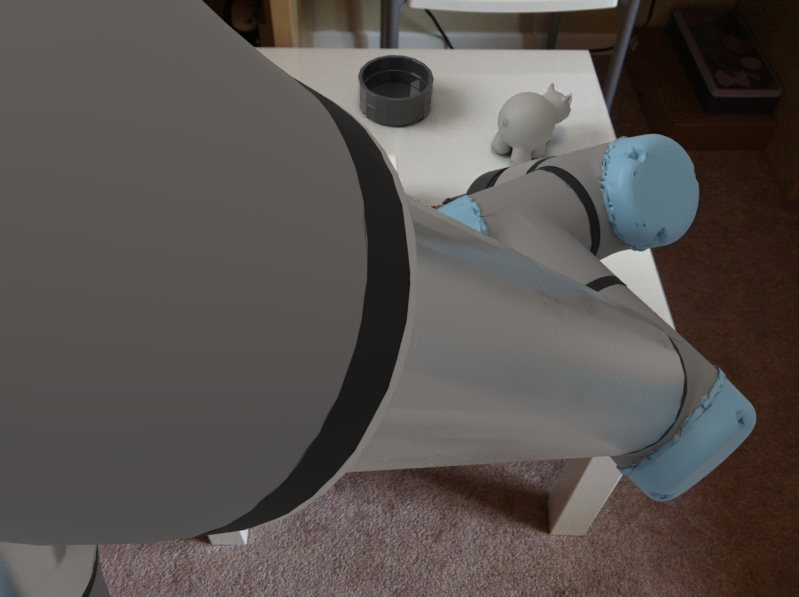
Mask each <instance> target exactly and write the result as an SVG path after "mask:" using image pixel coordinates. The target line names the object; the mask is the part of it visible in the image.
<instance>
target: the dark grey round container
mask: <svg viewBox="0 0 799 597" xmlns="http://www.w3.org/2000/svg"><path fill="white" fill-rule="evenodd" d="M434 82H435V78H434V75H433V71H432V69H431V68H429V67H428V66H427V65H426V64H425V63H424V62H423V61H421V60H419V59H417V58H415V57H411V56H407V55H402V54H388V55H381V56H377V57H374V58H372V59H371V60H369V61H367V62H366V63H365V64H364V65H362V67H360V69H359V72H358V74H357V95H358V96H357V100H358V106H359V108H360V110H361V112H362V113H363V114H364V115H365V117H366V118H368V119H369V120H371V121H372V122H374V123H377V124H378V125H383V126H385V127H395V128H396V127H397V128H398V127H405V126H411V125H413V124H416V123H418V122H420V121H421V120H423V119H424V118H425V117H426V116H427V114H428V113H429V112H430V111H431V107H432V102H433V93H434Z"/></svg>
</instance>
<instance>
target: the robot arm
mask: <svg viewBox="0 0 799 597" xmlns="http://www.w3.org/2000/svg"><path fill="white" fill-rule="evenodd" d="M388 155H389V154H387V152H386V149H385V148H384V147H383V146H382V145H381V143H380V142H379V141H378V139H377V138H376V137H375V136H374V135H373V134H372V132H371V131H370V130H369V128H368V127H367V126H365V124H363V123H362V122H361V121H360V120H359V119H357V118H356V117H355V116H354V115H353V114H352V113H351V112H349V111H348V110H347V109H345V108H344V107H342V106H341V105H339V104H338V103H336V102H335V101H333V100H332V99H330V98H329V97H326V96H325V95H323V94H322V93H320V92H319V91H317V90H315V89H313V88H312V87H311V86H309V85H307V84H305V83H303V82H302V81H300V80H298V79H297V78H296V77H293V76H292V75H290V74H289V73H288V72H286V71H285V70H284V69H282V68H281V67H280V66H279V65H277V64H276V63H274V62H273V61H272V60H270V59H269V58H268V57H266V56H265V55H264V54H263V53H262V52H260V51H259V50H258V49H257V48H256V47H255V46H253V44H251V43H250V42H248V41H247V40H246V39H245V38H244V37H243V36H242V35H240V34H239V33H238V32H237V31H236V30H235V29H233V28H232V27H231V26H230V25H229V24H228V23H226V21H224V20H223V18H222V17H221V16H219V15H218V14H217V13H216V12H215V11H214V10H212V8H211V7H210V6H208V4H207V3H205V2H204V0H0V597H112V596H111V593H110V591H109V588H108V586H107V583H106V579H105V576H104V573H103V570H102V564H101V558H100V552H99V546H100V545H106V546H107V545H135V544H136V545H137V544H153V543H161V542H168V541H176V540H177V541H178V540H183V539H192V538H200V537H207V536H213V535H214V536H215V535H221V534H228V533H235V532H242V531H246V530H250V529H256V528H259V527H263V526H265V525H266V526H267V525H269V524H272V523H276V522H279V521H283V520H284V519H286V518H288V517H290V516H292V515H294V514H296V513H297V512H300V511H301V510H303V509H305V508H307V507H308V506H310V505H311V504H312V503H314V502H315V501H316V500H318V499H319V498H320V497H322V496H324V494H326V493H327V492H328V491H329V490H330V489H331V488H332V487H333V486H335V484H337V482H339V480H340V479H341V478H342V477H343V476H344V475H345V474H346V473H359V472H360V473H361V472H375V471H390V470H391V471H392V470H394V471H395V470H406V469H407V470H408V469H425V468H440V467H455V466H473V465H490V464H503V463H519V462H535V461H537V462H538V461H552V460H553V461H554V460H555V461H556V460H569V459H582V458H585V459H586V458H600V457H601V458H602V457H610V459H611V460H612V461H613V462H614V464H615V465H616V466H615V468H616V470H618V471H619V473H620V475H623V476H626V477H627V478H628V479H629V480H630V481H631V482H632V483H633V484H634V485H635V486H636V487H637V488H638V489H640V491H642V492H643V494H645V495H646V496H647V497H648V498H650V499H652V500H653V501H657V502H668V501H671V500H674V499H676V498H677V497H680V496H681V495H682V494H684V493H685V492H687V491H688V490H690V489H691V488H692V487H694V486H695V485H696V484H698V483H699V482H700V481H702V479H704V478H705V477H707V476H708V475H709V474H710V473H712V472H713V470H715V469H716V468H717V467H718V466H720V465H721V464H722V463H723V462H724V461H725V460H727V458H728V457H730V455H732V454H733V452H735V450H736V449H738V448H739V447H740V446H741V445H742V444H743V443H744V441H745V440H746V439H747V438H748V437H749V436H750V434H751V433H752V432H753V430H754V429H755V426H756V423H757V413H756V409H755V408H754V406H753V404H752V403H751V401H749V400H748V399H747V397H746V396H744V394H742V393H741V391H740V390H739V389H738V388H737V387H736V386H735V385H734V384H733V383H732V382H731V381H730V380H729V379H728V378H727V376H726V373H724V371H723V370H722V369H721V368H720V367H719V366H718V365H716V364H714V365H713V364H712V363H711V362H710V361H709V360H708V359H707V358H706V357H704V356H703V355H702V354H701V353H700V352H699V350H697V349H696V348H695V347H694V346H693V345H691V344H690V342H688V340H686V339H685V338H684V337H683V336H682V335H681V334H680V333H678V331H676V330H675V328H673V327H672V326H671V325H670V324H669V323H668V322H667V321H666V320H664V319H663V318H662V317H661V316H660V315H659V314H658V313H656V312H655V311H654V310H653V308H651V307H650V306H649V305H648V304H646V303H645V302H644V301H643V300H642V299H641V298H640V297H639V296H638V295H637V294H635V292H633V291H632V290H631V289H630V288H629V287H628V285H627V284H626V283H624V282H623V281H622V280H621V279H620V278H619V277H618V276H617V275H616V274H615V273H614V272H613V271H612V270H610V268H608V267H607V266H606V265H605V264H604V263H603V262H602V260H604V259H605V258H608V257H610V256H612V255H614V254H617V253H620V252H623V251H628V250H629V251H630V250H631V251H633V252H635V251H636V252H644V251H647V250H648V249H652V248H659V247H664V246H668V245H669V246H670V245H671V244H672V243H675V242H677V241H678V240H679V239H681V238H682V237H683V236H684V235H685V234H686V232H687V231H688V230H689V228H690V227H691V225H692V224H693V222H694V220H695V217H696V214H697V211H698V207H699V200H700V185H699V181H698V180H697V178H696V173H695V165H694V162H693V161H692V159H691V157H690V155H689V154H688V153H687V151H686V150H685V149H684V147H683V146H681V145H680V144H679V143H678V142H677V141H675V140H674V139H672V138H671V137H668V136H665V135H663V134H658V133H650V134H649V133H648V134H641V135H635V136H630V137H628V136H627V135H626V136H625V135H622V136H620V137H618V138H616V139H614V140H612V141H608V142H605V143H601V144H597V145H594V146H589V147H585V148H582V149H578V150H574V151H570V152H567V153H563V154H560V155H556V156H555V155H548V156H545V157H544V156H543V157H542V158H538V159H531V161H527V162H523V163H520V164H516V165H513V164H512V165H510V166H506V167H502V168H498V169H493V170H490V171H487V172H484V173H482V174H481V175H479V176H478V177H477V178H476V179H474V180H473V181H472V183H471V184H470V186H469V187H468V189H467V191H466V193H463V194H459V195H456V196H453V197H447V198H445V199H444V200H442V204H439V205H433V206H430V205H428V204H426V203H424V202H422V201H421V200H419V199H416V198H414V197H413V196H410V195H409V194H407V193H406V192H405V189H404V186H403V184H402V182H401V179H400V175H399V176H398V174H397V172H396V170H395V168H394V166H393V165H392V163H391V161H390V159H389V157H388ZM98 545H99V546H98Z"/></svg>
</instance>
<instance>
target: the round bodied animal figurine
mask: <svg viewBox="0 0 799 597" xmlns="http://www.w3.org/2000/svg"><path fill="white" fill-rule="evenodd" d="M572 93H573V92H570V93H569V94H567V95H565V94H563V93H562V92H561V91H557V90H556V89H555V84H554V82H551V83H550V84H549V86H548V88H547V91H546V92H544V93H543V94H539V93H537V92H535V91H534V92H533V91H522V92H519V93H516V94H514V95H512V96H511V97H509V98H508V99H507V100H506V101H505V102H504V104H502V107H501V108H500V110H499V112H498V116H497V129H498V131H497V132H496V134H495V135H494V137H493V138H492V141H491V146H490V147H491V150H492V151H493V152H494V153H495V154H497V155H507V154H508V153H509V152H510V151H511V148H512V152H511V155H510V161H511V164H512V166H513V165H516V164H520V163H523V162H527V161H532V159H534V160H536V159H540V158H544V156H545V154H546V151H547V142H548V141H549V140H550V139H551V137H552V136H553V134H554V131H555V129H556V125H558V124H560V123H562V122H563V121H565V120H566V119H568V118H569V117H570V113H571V111H572V108H571V104H572V101H573V94H572Z"/></svg>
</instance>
